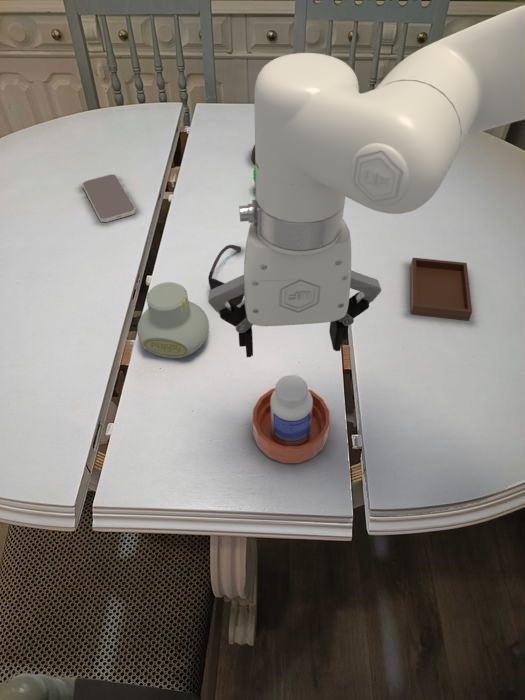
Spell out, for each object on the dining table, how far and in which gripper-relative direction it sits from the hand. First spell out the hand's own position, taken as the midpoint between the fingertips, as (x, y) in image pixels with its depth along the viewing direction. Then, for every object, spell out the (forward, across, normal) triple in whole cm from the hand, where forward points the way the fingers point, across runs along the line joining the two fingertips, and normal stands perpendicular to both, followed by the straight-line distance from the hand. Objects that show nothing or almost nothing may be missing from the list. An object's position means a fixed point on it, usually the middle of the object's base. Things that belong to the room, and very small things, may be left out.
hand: (291, 344), depth 59 cm
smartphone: (+19, -30, +59) cm, 69 cm away
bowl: (+18, 0, 0) cm, 18 cm away
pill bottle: (+18, 0, 0) cm, 18 cm away
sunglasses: (+18, -2, +31) cm, 36 cm away
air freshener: (+18, -16, +18) cm, 30 cm away
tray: (+18, +29, +25) cm, 42 cm away
